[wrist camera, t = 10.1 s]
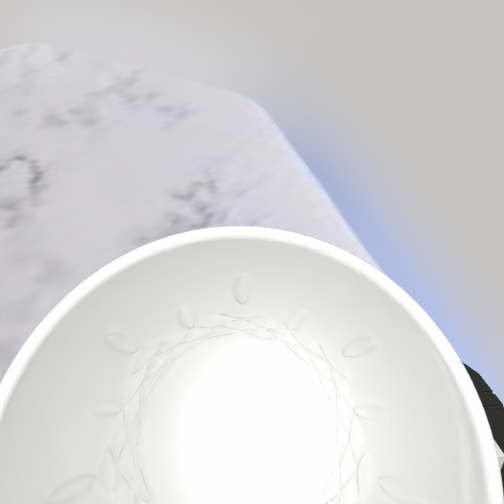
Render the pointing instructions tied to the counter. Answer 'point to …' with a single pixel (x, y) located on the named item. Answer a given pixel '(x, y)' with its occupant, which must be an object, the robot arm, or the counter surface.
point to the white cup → (242, 385)
